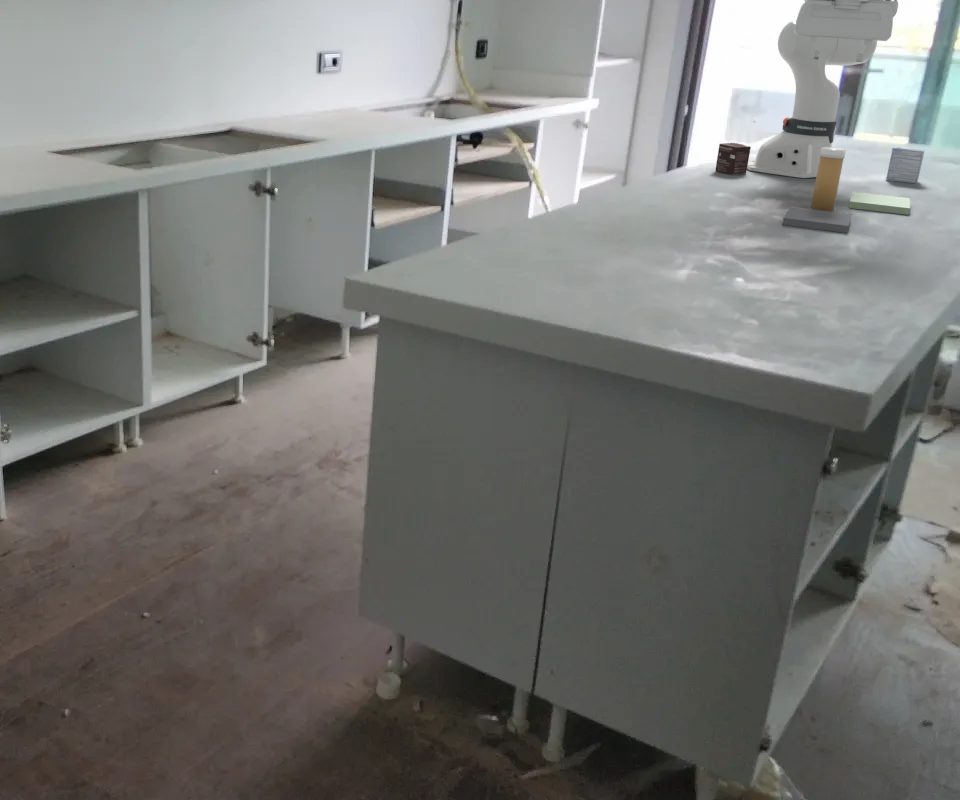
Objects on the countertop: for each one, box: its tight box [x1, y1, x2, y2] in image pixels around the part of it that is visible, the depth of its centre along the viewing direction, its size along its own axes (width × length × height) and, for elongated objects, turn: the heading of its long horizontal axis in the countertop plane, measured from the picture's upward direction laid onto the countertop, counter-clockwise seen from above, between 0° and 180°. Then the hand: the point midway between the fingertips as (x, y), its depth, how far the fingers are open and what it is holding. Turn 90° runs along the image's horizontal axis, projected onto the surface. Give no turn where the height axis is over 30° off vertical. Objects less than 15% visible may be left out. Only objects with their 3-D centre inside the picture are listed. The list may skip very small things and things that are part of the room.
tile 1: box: [782, 206, 852, 234], centre depth 207 cm, size 13×13×2 cm
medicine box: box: [885, 145, 925, 184], centre depth 259 cm, size 8×4×9 cm, turn 65°
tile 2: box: [848, 191, 911, 216], centre depth 227 cm, size 13×13×2 cm
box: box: [715, 142, 752, 176], centre depth 259 cm, size 6×6×7 cm
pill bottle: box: [810, 146, 846, 212], centre depth 218 cm, size 5×5×13 cm
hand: (836, 60), depth 215 cm, fingers open, 8 cm apart
